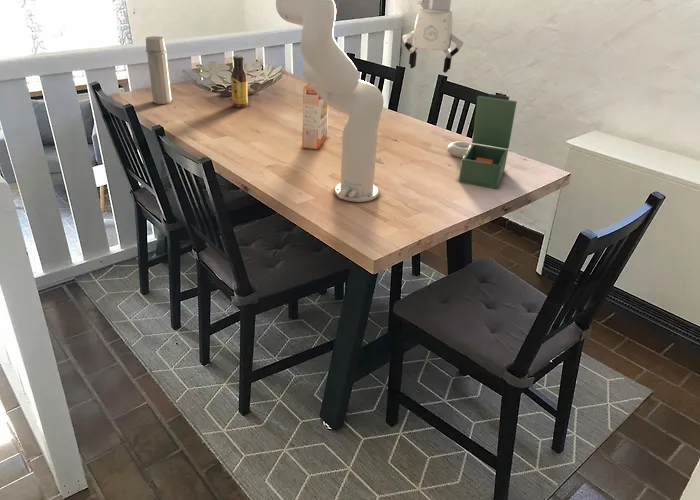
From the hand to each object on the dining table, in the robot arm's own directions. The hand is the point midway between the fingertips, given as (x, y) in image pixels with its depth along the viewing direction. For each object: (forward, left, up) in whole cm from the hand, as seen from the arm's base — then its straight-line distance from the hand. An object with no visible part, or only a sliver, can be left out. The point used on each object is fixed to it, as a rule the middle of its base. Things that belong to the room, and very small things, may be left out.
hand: (429, 69), depth 163 cm
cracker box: (+11, +40, -32) cm, 53 cm away
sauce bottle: (+36, +85, -32) cm, 98 cm away
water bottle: (+24, +114, -32) cm, 121 cm away
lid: (+14, -19, -17) cm, 29 cm away
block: (+6, -19, -32) cm, 37 cm away
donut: (+25, -9, -32) cm, 42 cm away
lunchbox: (+8, -19, -32) cm, 38 cm away
